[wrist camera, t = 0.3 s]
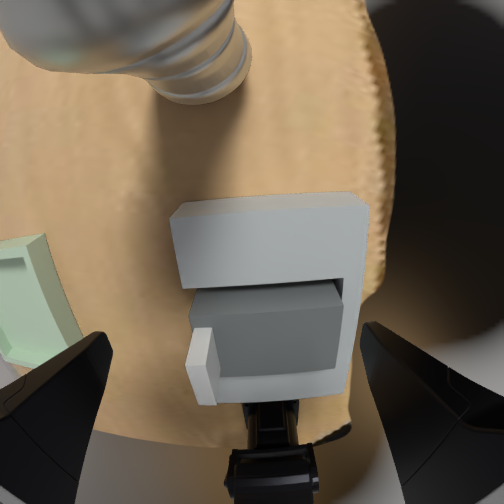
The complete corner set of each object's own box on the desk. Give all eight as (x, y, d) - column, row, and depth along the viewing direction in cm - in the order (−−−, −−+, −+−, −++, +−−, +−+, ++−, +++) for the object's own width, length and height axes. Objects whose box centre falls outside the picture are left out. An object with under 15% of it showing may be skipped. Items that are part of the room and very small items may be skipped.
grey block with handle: (320, 322, 26) (345, 403, 17) (212, 329, 26) (198, 412, 17) (324, 264, 23) (359, 340, 15) (202, 272, 24) (177, 353, 15)
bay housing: (335, 364, 28) (343, 393, 24) (216, 373, 28) (212, 402, 25) (349, 191, 21) (369, 205, 17) (183, 202, 21) (168, 218, 17)
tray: (95, 361, 28) (86, 379, 26) (15, 348, 29) (5, 361, 26) (44, 233, 22) (26, 245, 19) (-30, 246, 22) (-45, 256, 20)
